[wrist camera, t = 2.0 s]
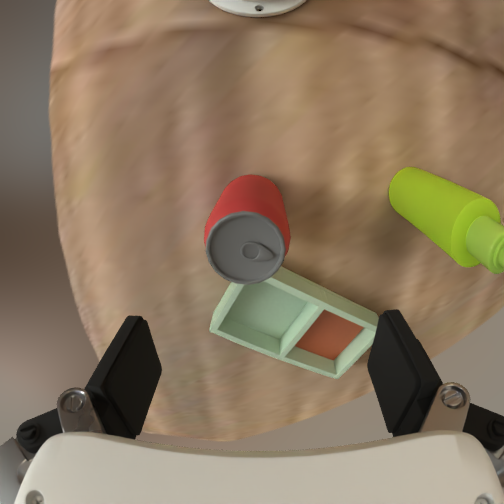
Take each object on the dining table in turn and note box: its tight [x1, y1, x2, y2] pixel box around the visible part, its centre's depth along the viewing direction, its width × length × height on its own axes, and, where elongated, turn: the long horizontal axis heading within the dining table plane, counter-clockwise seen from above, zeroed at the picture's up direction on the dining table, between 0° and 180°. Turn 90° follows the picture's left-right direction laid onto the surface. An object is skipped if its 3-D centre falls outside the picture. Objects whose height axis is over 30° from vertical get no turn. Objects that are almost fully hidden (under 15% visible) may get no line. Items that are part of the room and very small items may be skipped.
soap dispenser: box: [389, 167, 504, 274], centre depth 20 cm, size 6×7×20 cm
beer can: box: [204, 175, 291, 285], centre depth 26 cm, size 7×7×12 cm
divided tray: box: [209, 266, 379, 379], centre depth 35 cm, size 19×10×4 cm, turn 62°
